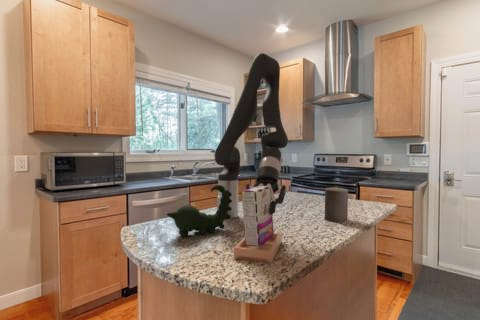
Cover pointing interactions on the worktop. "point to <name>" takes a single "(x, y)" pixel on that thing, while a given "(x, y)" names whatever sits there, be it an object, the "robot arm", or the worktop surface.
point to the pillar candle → (336, 204)
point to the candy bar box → (257, 215)
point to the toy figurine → (202, 216)
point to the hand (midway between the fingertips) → (261, 212)
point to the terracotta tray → (259, 250)
